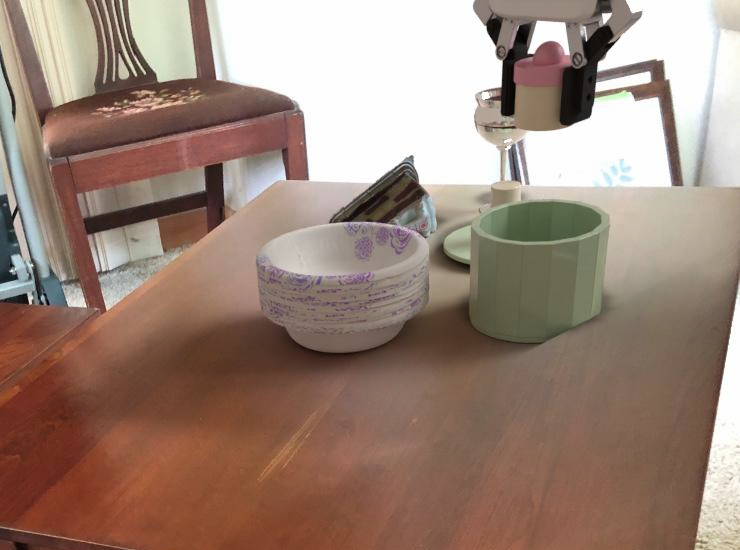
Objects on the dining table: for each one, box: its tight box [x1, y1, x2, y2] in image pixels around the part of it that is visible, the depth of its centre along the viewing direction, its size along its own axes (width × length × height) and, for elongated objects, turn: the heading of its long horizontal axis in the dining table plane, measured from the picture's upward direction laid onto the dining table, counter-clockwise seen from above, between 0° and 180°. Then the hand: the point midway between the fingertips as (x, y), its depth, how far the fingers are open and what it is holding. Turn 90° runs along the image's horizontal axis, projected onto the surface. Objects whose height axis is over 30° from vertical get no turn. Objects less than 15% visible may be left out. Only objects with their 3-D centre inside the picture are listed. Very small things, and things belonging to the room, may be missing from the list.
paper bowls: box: [255, 222, 430, 354], centre depth 86 cm, size 15×15×8 cm
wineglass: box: [473, 86, 530, 213], centre depth 106 cm, size 7×7×12 cm
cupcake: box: [514, 40, 574, 132], centre depth 75 cm, size 5×5×6 cm
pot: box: [468, 198, 611, 344], centre depth 84 cm, size 11×11×8 cm
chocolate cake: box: [327, 154, 438, 238], centre depth 106 cm, size 10×7×12 cm
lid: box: [443, 179, 522, 265], centre depth 98 cm, size 12×12×7 cm
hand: (545, 114), depth 76 cm, fingers closed on cupcake, 5 cm apart
